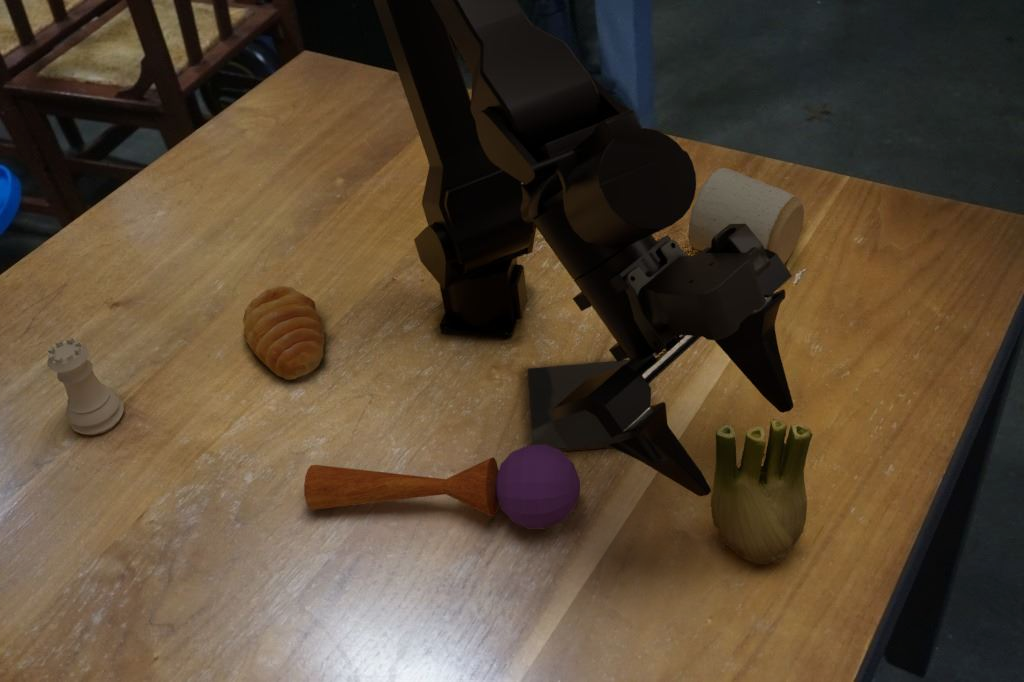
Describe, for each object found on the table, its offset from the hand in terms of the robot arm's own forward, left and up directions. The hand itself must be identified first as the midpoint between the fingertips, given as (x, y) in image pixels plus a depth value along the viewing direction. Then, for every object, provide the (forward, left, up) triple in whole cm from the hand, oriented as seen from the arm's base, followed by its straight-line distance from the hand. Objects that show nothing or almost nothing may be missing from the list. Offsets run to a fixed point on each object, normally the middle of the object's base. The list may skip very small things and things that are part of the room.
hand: (748, 451), depth 71 cm
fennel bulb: (+1, -1, -9) cm, 9 cm away
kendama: (-21, -1, -9) cm, 23 cm away
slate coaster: (-13, +10, -9) cm, 19 cm away
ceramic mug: (-2, +32, -9) cm, 34 cm away
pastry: (-40, +14, -9) cm, 43 cm away
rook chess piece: (-53, +3, -9) cm, 54 cm away
